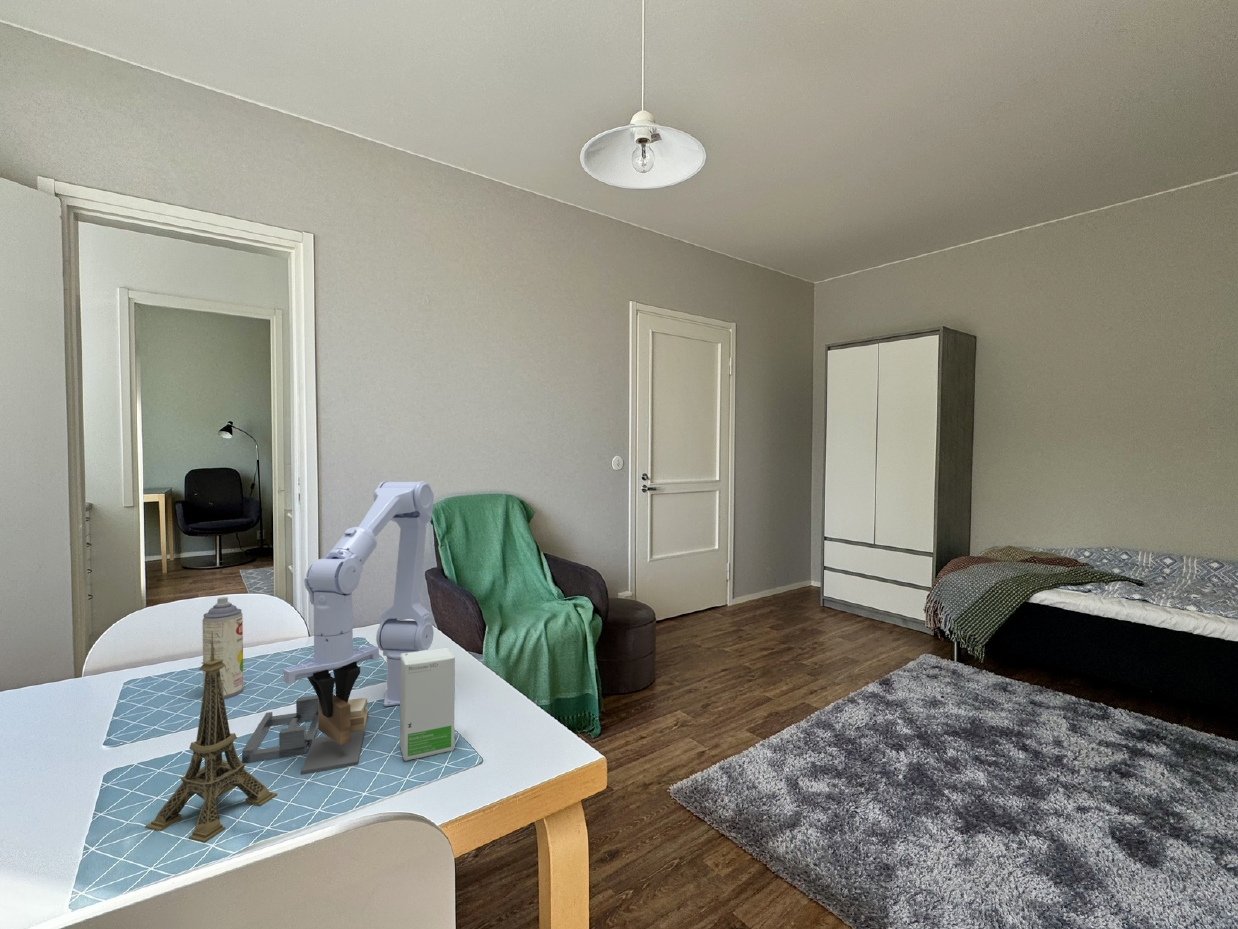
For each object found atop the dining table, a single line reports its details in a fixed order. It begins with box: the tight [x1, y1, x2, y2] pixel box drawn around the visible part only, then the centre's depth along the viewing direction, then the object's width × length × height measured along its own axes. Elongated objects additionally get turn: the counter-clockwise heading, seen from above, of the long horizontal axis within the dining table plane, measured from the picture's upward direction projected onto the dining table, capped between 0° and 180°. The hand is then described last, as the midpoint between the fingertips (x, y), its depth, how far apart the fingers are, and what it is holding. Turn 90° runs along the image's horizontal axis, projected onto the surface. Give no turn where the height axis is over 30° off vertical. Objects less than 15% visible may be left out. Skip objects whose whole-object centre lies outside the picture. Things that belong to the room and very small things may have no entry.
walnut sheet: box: [317, 693, 350, 745], centre depth 93 cm, size 2×8×6 cm, turn 51°
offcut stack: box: [348, 697, 369, 732], centre depth 103 cm, size 4×7×3 cm, turn 19°
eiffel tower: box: [144, 631, 278, 843], centre depth 78 cm, size 11×11×25 cm
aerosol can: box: [201, 596, 244, 700], centre depth 117 cm, size 7×7×20 cm
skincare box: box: [399, 647, 456, 762], centre depth 94 cm, size 8×7×16 cm
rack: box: [241, 694, 319, 764], centre depth 98 cm, size 9×15×4 cm, turn 19°
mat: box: [300, 730, 366, 775], centre depth 93 cm, size 8×11×1 cm
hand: (334, 713), depth 93 cm, fingers closed on walnut sheet, 2 cm apart
